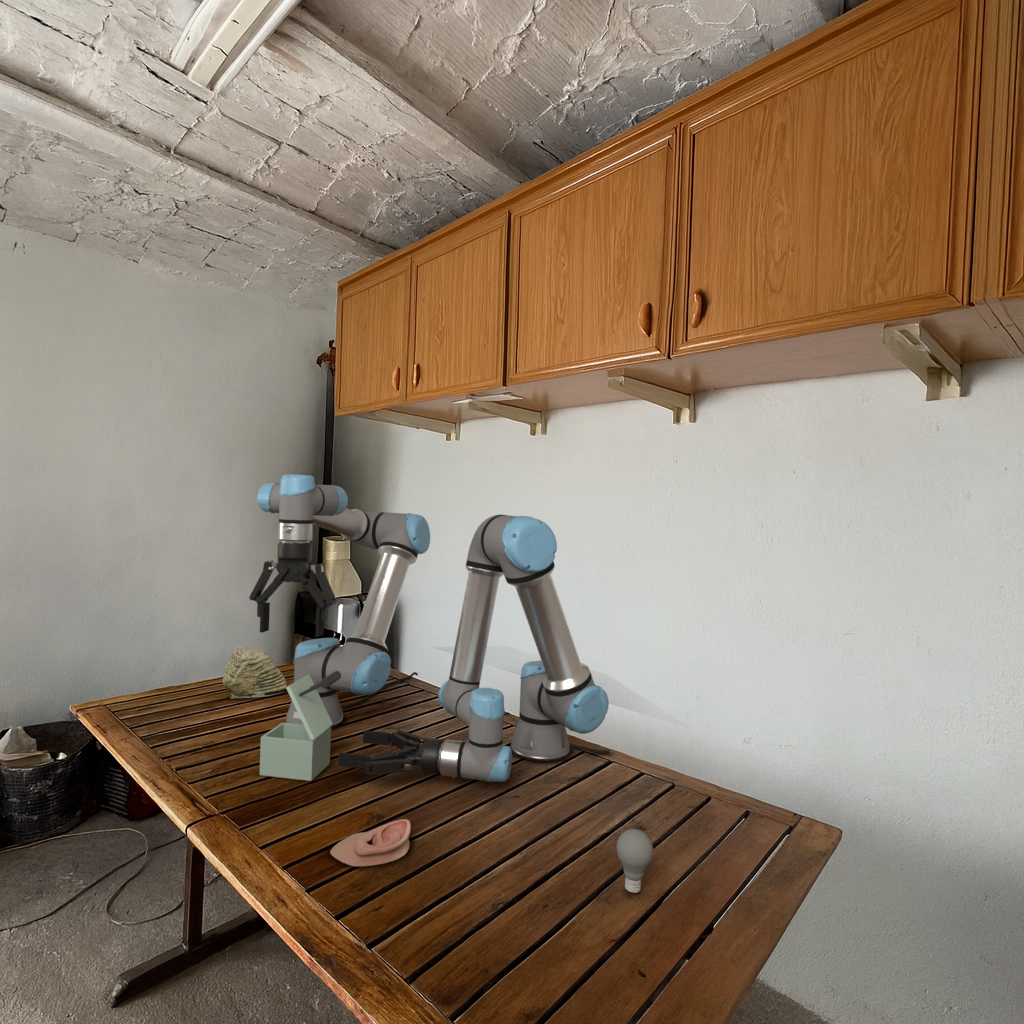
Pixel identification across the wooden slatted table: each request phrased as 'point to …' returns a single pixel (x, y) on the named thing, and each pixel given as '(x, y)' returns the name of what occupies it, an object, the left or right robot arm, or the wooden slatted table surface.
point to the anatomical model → (374, 845)
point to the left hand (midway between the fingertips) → (291, 633)
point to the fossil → (252, 674)
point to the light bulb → (634, 857)
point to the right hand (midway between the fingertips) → (351, 747)
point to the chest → (294, 752)
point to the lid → (312, 703)
